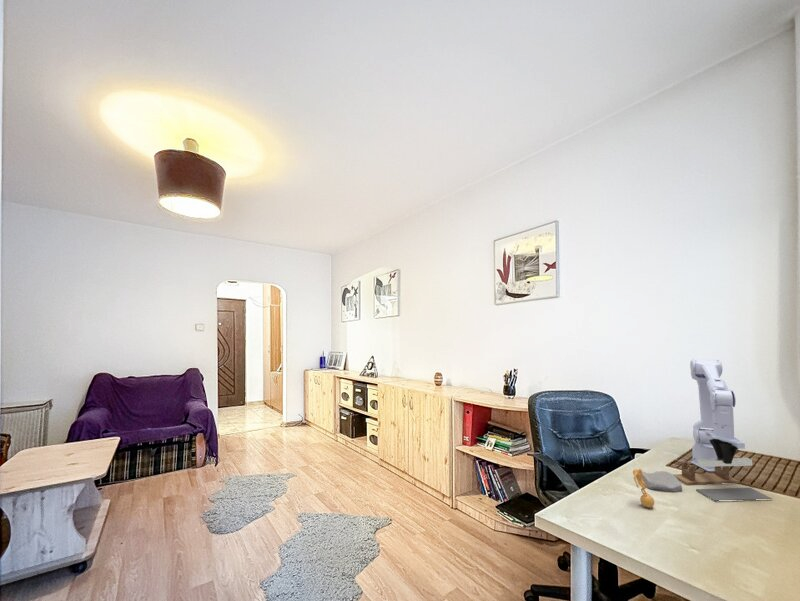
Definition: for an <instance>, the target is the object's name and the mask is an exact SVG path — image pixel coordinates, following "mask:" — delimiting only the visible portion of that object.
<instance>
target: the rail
mask: <svg viewBox="0 0 800 601" xmlns="http://www.w3.org/2000/svg"><path fill="white" fill-rule="evenodd" d="M698 465H700V466H702V467H713V466H721V467H722V466H729V467H745V466H747V467H749V466H750V467H751V466H753V460H752V459H751V458H748V457H733V460H732V463H731V464H725V463H724V460H723V458H716V459H698Z"/></svg>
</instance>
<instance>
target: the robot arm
mask: <svg viewBox="0 0 800 601" xmlns="http://www.w3.org/2000/svg"><path fill="white" fill-rule="evenodd" d="M689 366H690V367H689V368H690V376H691V379H692V380H695V381H696V383H697V388H698V399H699V409H700V420H699V421H697V422H695V423H694V424H693V431H692V434H693V435H692V436H693V437H692V438H693V441H694V443H693V444H692V448H691V450H692V452H691V455H692V460H691V461H690V463H691V464H693V465H694V466H697V467H699V468H701V469H703V470H704V471H707V472H715V466H713V467H702V466H700V465H698V459H716V458H723V460H724V463H725V464H731V463H732V460H733V458H735V454H736V453H737V451H738V450H740V449H741V450H742V449H744V450H745V449H746V446H745V445H746V443H745V442H743V441H741V440H739V439H738V438H737V437H735V425H734V422H735V421H734V420H735V419H734V408H735V407H736V402H737V401H736V394H735V392H734V390H733V389H729V388H728V385H727V383H726V381H725V379H722V378H721V376H722V375H723V364H722V361H720V359H719V360H718V359H715V360H714V359H713V360H711V359H695V358H692V359H691V360H690V364H689ZM721 468H722V466H721ZM722 469H723V468H722Z"/></svg>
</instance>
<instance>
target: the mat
mask: <svg viewBox="0 0 800 601" xmlns="http://www.w3.org/2000/svg"><path fill="white" fill-rule="evenodd" d="M695 491H696V492H698V493H699V494H700V493H701V494H700V495H702V494H703V495H702V496H704V495H705V496H707V497H709V498H711V499H712V500H714V501H719V500H756V499H772V500H773V498H772V497H770V496H768V495H767V494H764V493H762V492H761V491H760V492H759V491H758V490H756V489H754V488H752V487H733V488H732V487H729V488H725V487H724V488H697V489H695ZM705 496H704V497H705ZM707 497H706V498H707ZM709 498H708V499H709ZM712 500H711V501H712ZM714 501H713V502H714Z"/></svg>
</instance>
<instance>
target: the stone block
mask: <svg viewBox="0 0 800 601" xmlns="http://www.w3.org/2000/svg"><path fill="white" fill-rule="evenodd" d="M642 474H643V475H644V476H645V477H646V479H647V480H646V479H645V478H644V477H643V476H642V480H643V481H644V482H645V484H646V485H647V489H648V490H649V489H650V490H655V491H656V490H657V491H664V492H671V491H673V493H678V492H682V491H683V487H682V482H680V481H679V480H678V479H677V478H676V477H675V476H674V475H673V473H671V472H668V471H665V470H662V471H654V472H645V471H642ZM677 491H678V492H677Z"/></svg>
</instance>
